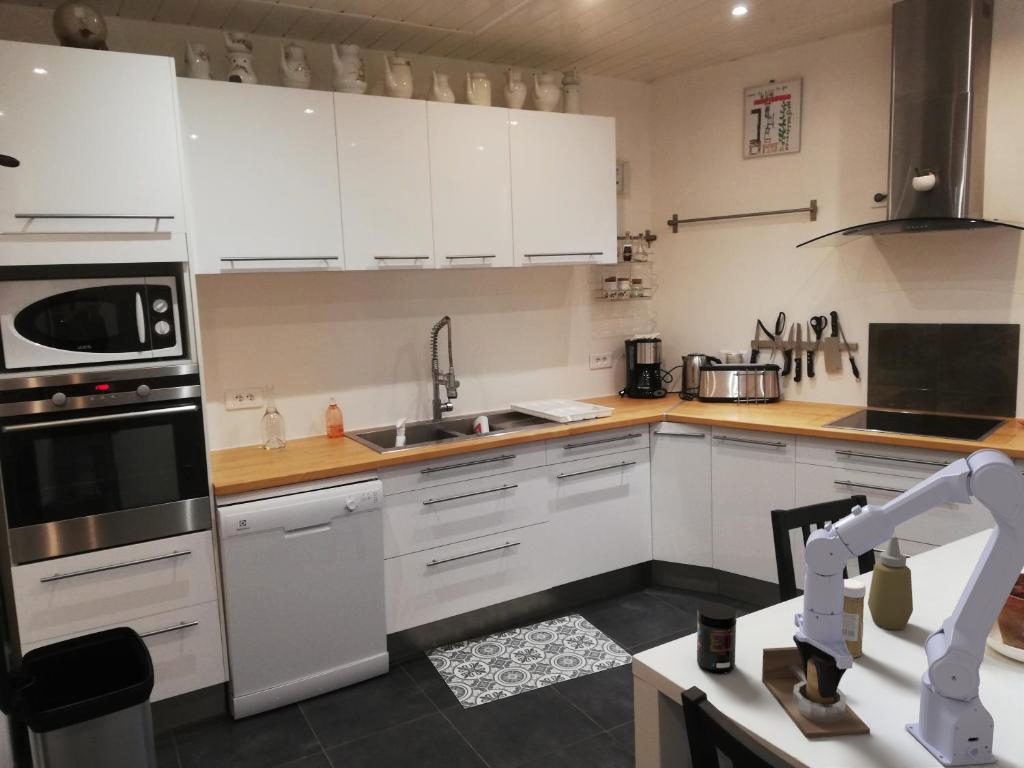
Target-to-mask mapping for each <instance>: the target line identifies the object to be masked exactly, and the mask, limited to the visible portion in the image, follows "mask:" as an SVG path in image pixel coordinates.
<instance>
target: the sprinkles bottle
mask: <svg viewBox="0 0 1024 768" xmlns="http://www.w3.org/2000/svg"><path fill="white" fill-rule="evenodd" d="M843 580H844V603H843V625H842V635H843V637H844V640H845V643H846V646H847V648H848V651H849V653H850V654H851V655H852V656H853V658H859V657H861V656H862V655H863V653H864V652H863V639H864V638H863V637H864V609H865V596H866V590H867V589H866V585H865V583H864V582H862V581H860V580H856V579H850V578H849V579H848V578H845V579H844V578H843Z"/></svg>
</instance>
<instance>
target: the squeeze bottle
mask: <svg viewBox="0 0 1024 768" xmlns="http://www.w3.org/2000/svg"><path fill="white" fill-rule="evenodd" d="M898 538H899V537H897V536H894V535H893V537H892V538H891V539H889V540H888V545H887V547H886V550H885V551H881V552H880V553H879V561H877V562H876V563H875V564H873V572H872V576H871V582H870V588H869V595H868V600H867V605H868V609H869V612H870V616H871V619H872V622H873V623H874V624H875V625H876V626H878V627H880V628H884V629H887V630H897V631H898V630H899V631H900V630H903V629H905V628H906V627H907V625H908V623H909V620H910V618H911V616H912V614H913V612H914V602H913V601H914V600H913V586H912V584H913V583H912V570H911V569H910V567H908V565H907V556H906V555H905V554H903V553H901V550H900V545H899V539H898Z"/></svg>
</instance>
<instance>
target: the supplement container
mask: <svg viewBox="0 0 1024 768" xmlns="http://www.w3.org/2000/svg"><path fill="white" fill-rule="evenodd" d="M696 616H697V617H696V618H697V624H696V625H697V631H696V632H697V633H696V634H697V635H696V636H697V637H696V645H697V646H696V662H697V665H698V666H699V667H700V669H702V670H703V671H705V672H708V673H710V674H716V675H724V674H728V673H730V672H732V671H733V670H734V669H735V666H736V648H737V647H736V643H737V642H736V640H737V638H736V637H737V616H738V615H737V610H736V609H735V608H734V607H732V606H730V605H728V604H724V603H720V602H706V603H703V604H700V605H698V607H697V615H696Z"/></svg>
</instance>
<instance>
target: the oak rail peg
mask: <svg viewBox="0 0 1024 768" xmlns="http://www.w3.org/2000/svg"><path fill="white" fill-rule="evenodd" d="M806 698H807V700H809V701H811V702H814V703H818V704H823V705H828V704H833V702H834V697H832V698H822V697H821V696H820V695H819V690H818V678H817V671H816V667H815V664H814V662H813V659H812V658H810V659H809V660H808V666H807V691H806Z"/></svg>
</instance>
